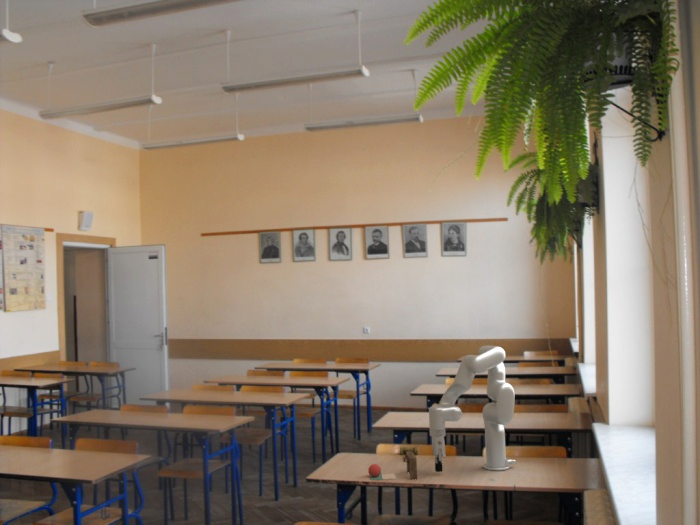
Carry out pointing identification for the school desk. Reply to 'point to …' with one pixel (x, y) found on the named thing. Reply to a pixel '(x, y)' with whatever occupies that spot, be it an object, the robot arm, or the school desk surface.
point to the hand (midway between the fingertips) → (438, 471)
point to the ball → (374, 470)
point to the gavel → (409, 449)
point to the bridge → (411, 465)
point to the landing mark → (377, 477)
